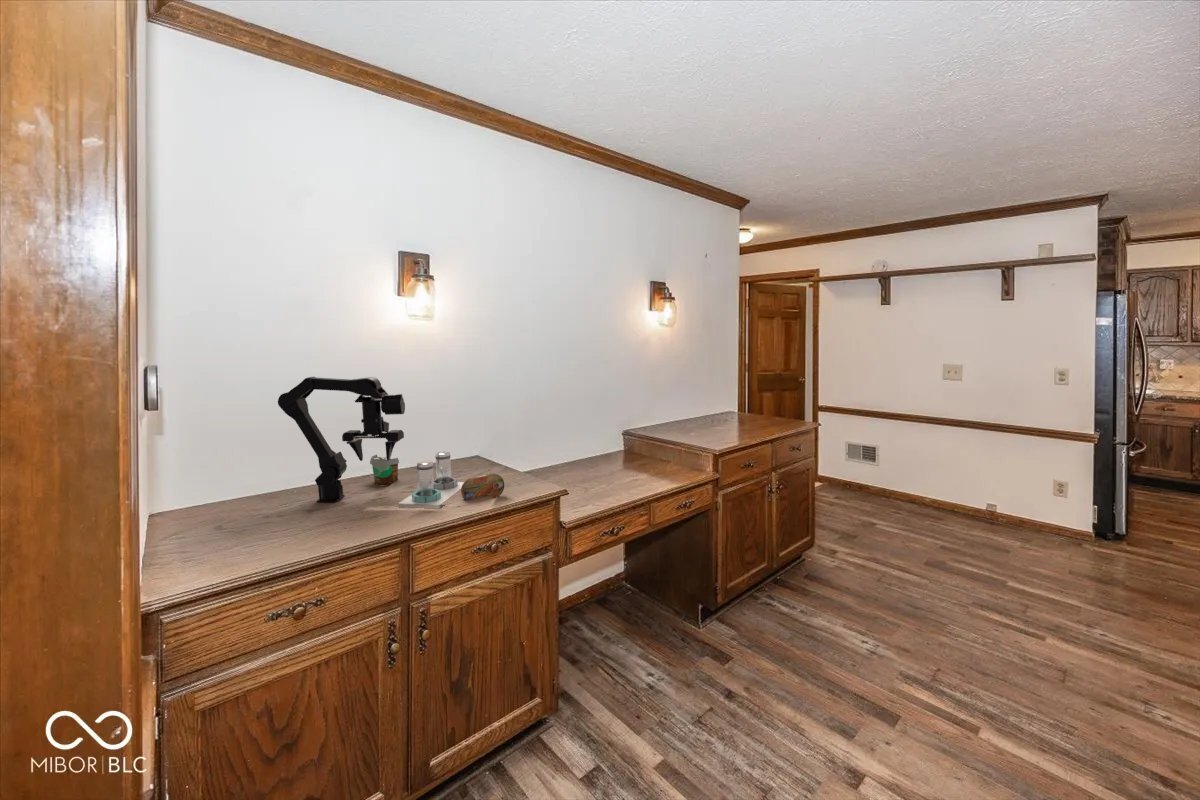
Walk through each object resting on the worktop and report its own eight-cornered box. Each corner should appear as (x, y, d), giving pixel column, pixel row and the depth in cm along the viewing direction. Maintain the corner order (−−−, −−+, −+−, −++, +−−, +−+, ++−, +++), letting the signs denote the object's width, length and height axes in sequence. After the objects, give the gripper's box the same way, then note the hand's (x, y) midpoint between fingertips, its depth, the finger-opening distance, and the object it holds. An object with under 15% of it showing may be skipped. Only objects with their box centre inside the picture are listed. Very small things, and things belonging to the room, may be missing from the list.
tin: (464, 505, 173) (463, 480, 172) (460, 503, 176) (459, 478, 174) (505, 496, 183) (504, 472, 182) (500, 494, 185) (499, 470, 184)
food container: (363, 484, 198) (362, 457, 197) (377, 479, 203) (376, 454, 202) (386, 488, 192) (385, 461, 191) (400, 484, 198) (398, 457, 196)
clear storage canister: (419, 501, 172) (418, 465, 171) (417, 497, 177) (415, 462, 175) (435, 499, 175) (434, 464, 173) (432, 495, 179) (431, 460, 178)
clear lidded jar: (434, 488, 187) (433, 455, 185) (439, 484, 192) (437, 451, 190) (449, 488, 187) (447, 454, 185) (453, 484, 192) (452, 451, 190)
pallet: (398, 507, 171) (397, 497, 171) (432, 485, 196) (432, 475, 196) (439, 509, 170) (439, 498, 169) (469, 486, 194) (468, 477, 194)
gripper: (408, 411, 186) (411, 454, 188) (355, 411, 186) (358, 455, 188) (396, 416, 175) (398, 462, 177) (339, 416, 175) (343, 463, 177)
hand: (375, 460), depth 180 cm, fingers open, 9 cm apart
